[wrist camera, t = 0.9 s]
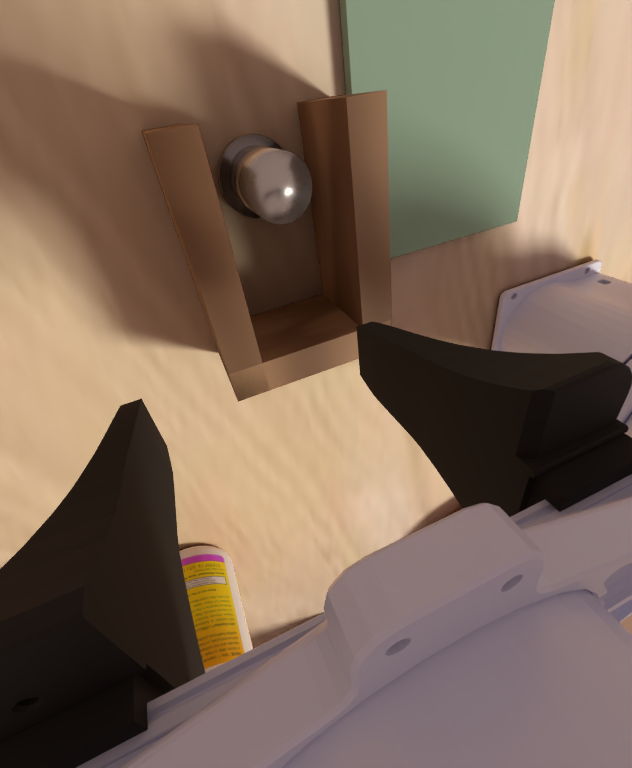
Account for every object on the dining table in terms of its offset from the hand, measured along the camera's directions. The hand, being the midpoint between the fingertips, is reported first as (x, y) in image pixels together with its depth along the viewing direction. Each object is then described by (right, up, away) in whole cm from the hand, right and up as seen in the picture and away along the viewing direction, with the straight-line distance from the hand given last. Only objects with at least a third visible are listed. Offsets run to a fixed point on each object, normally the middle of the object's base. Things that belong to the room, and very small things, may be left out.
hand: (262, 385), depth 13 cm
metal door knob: (-1, +10, +5) cm, 11 cm away
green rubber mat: (+8, +14, +7) cm, 18 cm away
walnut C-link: (-1, +8, +7) cm, 10 cm away
